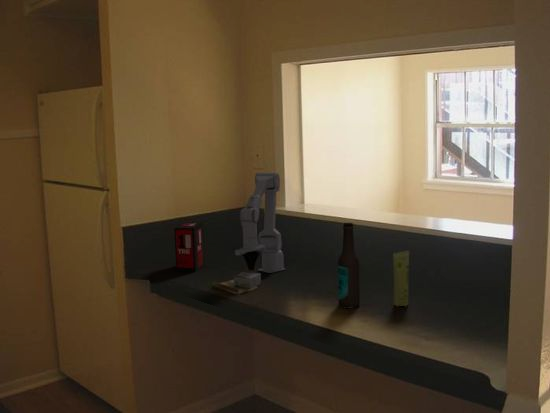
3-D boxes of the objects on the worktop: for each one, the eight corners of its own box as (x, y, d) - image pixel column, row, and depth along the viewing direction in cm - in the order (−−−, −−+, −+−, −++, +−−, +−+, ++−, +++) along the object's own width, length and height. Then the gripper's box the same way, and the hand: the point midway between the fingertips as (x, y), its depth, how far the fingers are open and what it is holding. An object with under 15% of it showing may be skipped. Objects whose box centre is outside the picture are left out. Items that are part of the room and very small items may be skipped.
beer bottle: (334, 304, 223) (333, 222, 218) (352, 301, 226) (352, 220, 221) (344, 310, 216) (344, 225, 211) (363, 306, 219) (363, 223, 214)
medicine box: (261, 273, 250) (250, 277, 242) (261, 283, 250) (250, 289, 243) (244, 271, 253) (233, 276, 246) (244, 281, 254) (233, 286, 246)
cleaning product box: (195, 272, 276) (193, 228, 274) (176, 271, 278) (174, 228, 275) (204, 263, 293) (203, 222, 290) (186, 263, 294) (184, 222, 291)
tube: (407, 308, 216) (407, 253, 213) (392, 307, 217) (392, 253, 215) (409, 303, 221) (409, 250, 218) (394, 302, 223) (394, 249, 220)
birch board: (233, 281, 258) (233, 277, 257) (258, 288, 246) (258, 283, 246) (212, 286, 251) (212, 282, 250) (236, 294, 239) (236, 289, 238)
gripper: (257, 233, 259) (258, 265, 261) (230, 238, 249) (231, 271, 251) (268, 235, 254) (269, 267, 255) (240, 240, 244) (242, 274, 246)
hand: (251, 269), depth 253 cm, fingers closed
